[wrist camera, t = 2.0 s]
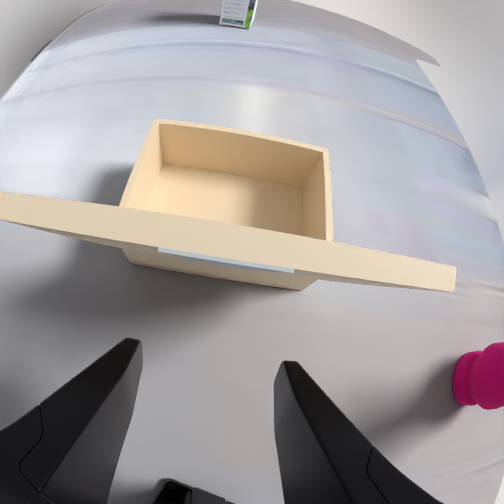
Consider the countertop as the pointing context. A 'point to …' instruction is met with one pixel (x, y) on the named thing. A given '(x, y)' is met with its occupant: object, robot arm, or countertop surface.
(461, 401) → the pepper mill
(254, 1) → the syrup box
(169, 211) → the carton
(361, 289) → the countertop surface
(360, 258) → the lid
